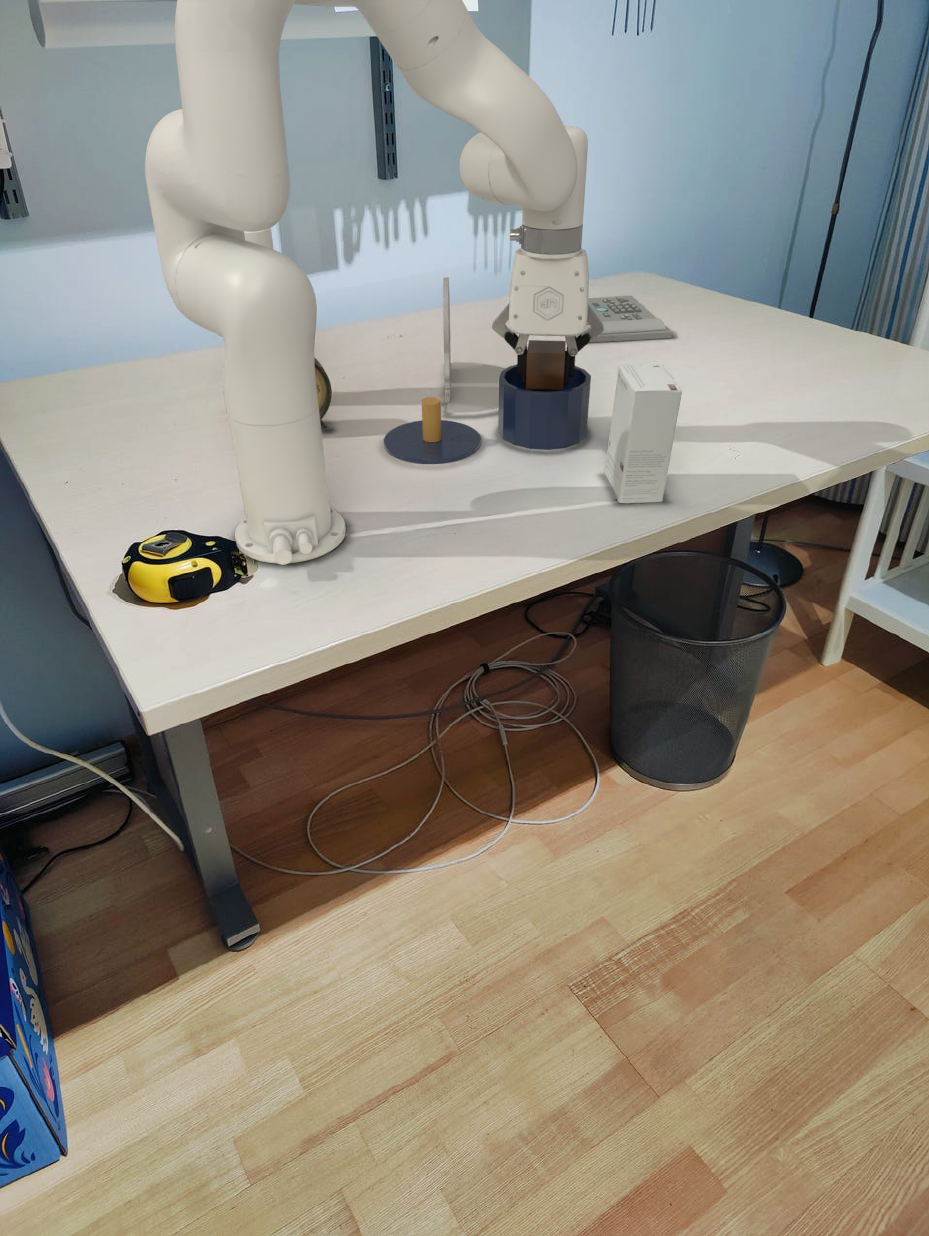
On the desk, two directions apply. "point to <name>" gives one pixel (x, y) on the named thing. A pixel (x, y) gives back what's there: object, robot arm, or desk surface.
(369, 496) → the desk surface
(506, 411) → the tin
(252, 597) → the desk surface
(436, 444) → the tin lid
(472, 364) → the grey metal bookend
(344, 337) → the desk surface
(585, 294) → the robot arm
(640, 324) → the office telephone
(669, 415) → the cosmetic box
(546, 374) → the block
